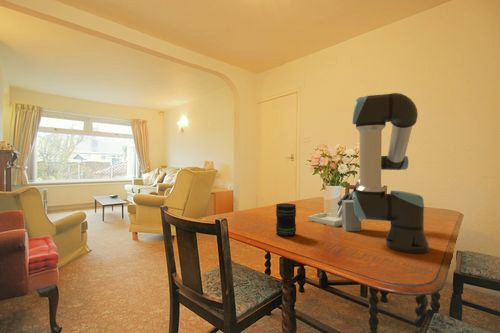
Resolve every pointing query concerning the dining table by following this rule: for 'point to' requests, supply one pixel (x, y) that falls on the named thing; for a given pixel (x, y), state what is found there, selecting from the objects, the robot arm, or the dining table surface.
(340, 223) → the sage tray
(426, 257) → the dining table surface
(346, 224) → the skincare box
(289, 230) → the storage jar
